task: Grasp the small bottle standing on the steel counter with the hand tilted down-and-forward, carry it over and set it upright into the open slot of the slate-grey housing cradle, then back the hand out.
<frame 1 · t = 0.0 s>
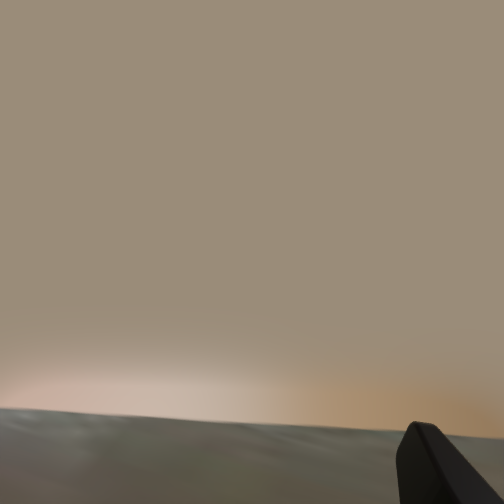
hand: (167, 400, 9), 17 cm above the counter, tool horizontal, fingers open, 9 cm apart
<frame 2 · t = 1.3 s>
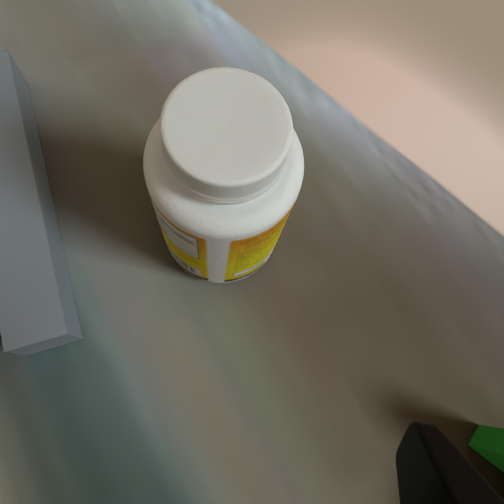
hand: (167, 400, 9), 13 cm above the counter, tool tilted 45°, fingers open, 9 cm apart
supplement bottle: (220, 232, 24), on the counter
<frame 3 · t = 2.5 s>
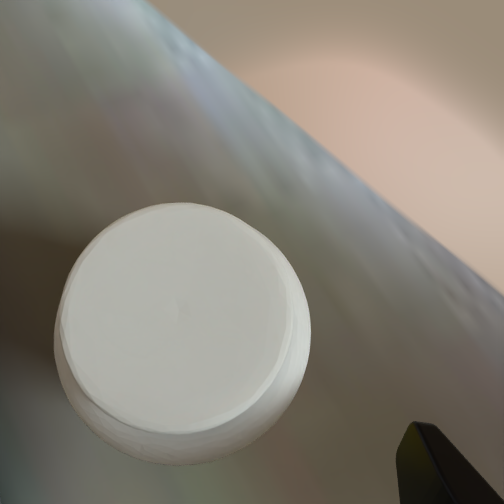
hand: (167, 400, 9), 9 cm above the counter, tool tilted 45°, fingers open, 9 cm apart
supplement bottle: (195, 352, 18), on the counter
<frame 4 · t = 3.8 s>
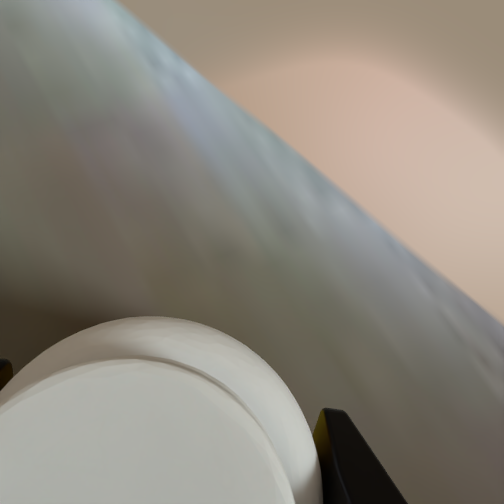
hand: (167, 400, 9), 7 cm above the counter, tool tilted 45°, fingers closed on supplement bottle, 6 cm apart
supplement bottle: (178, 437, 15), on the counter, touching gripper
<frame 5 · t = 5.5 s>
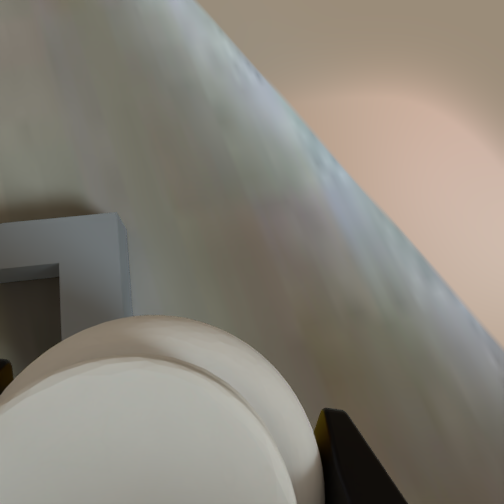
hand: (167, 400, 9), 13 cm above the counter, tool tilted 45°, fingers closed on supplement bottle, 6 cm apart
supplement bottle: (181, 436, 15), point 6 cm above the counter, touching gripper
when the fingers open (9 cm above the counter, at t = 7.5 s): supplement bottle drops 2 cm, on the counter.
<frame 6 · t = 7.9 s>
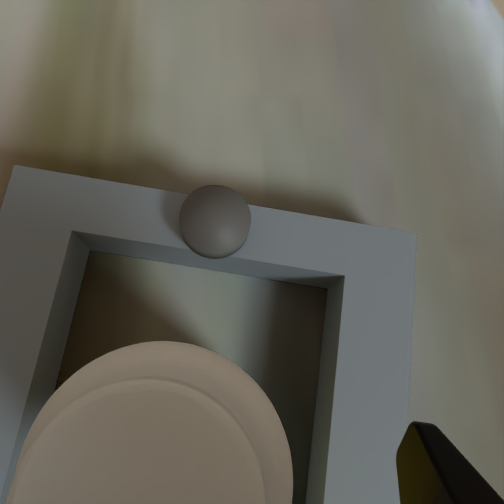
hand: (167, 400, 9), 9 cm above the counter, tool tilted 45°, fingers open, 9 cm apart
housing cradle: (181, 429, 17), on the counter
supplement bottle: (182, 434, 17), on the counter
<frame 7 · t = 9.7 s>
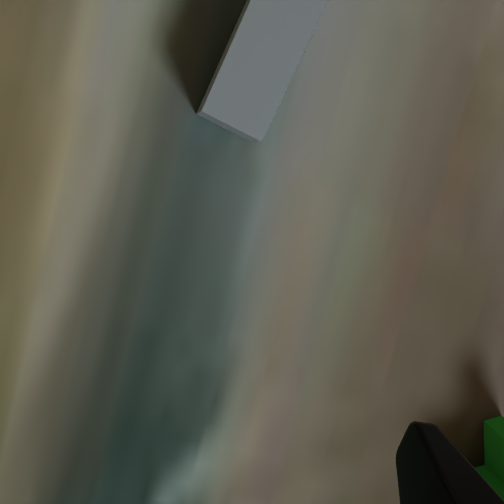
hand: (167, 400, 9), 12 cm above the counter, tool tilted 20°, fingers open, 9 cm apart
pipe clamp: (472, 498, 28), on the counter
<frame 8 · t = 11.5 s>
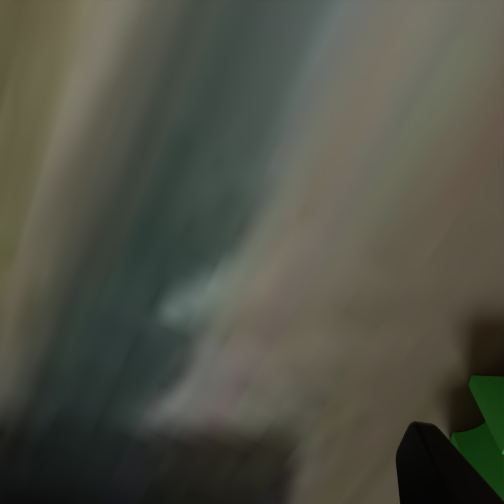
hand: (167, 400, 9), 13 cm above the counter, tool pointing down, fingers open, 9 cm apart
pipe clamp: (493, 405, 26), on the counter
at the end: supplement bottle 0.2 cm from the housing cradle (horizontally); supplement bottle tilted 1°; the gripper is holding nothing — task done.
